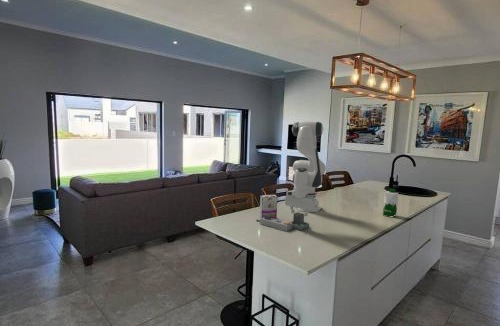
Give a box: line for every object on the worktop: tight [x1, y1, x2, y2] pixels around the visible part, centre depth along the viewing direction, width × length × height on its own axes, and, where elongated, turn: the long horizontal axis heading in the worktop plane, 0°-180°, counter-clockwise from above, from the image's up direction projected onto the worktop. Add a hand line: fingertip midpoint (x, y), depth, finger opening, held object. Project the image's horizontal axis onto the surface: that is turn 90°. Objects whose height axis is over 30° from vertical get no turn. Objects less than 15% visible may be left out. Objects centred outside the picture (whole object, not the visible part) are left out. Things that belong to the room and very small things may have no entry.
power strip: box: [256, 215, 293, 232], centre depth 189 cm, size 26×7×6 cm, turn 52°
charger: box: [292, 211, 305, 226], centre depth 187 cm, size 5×5×8 cm
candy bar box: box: [259, 194, 278, 220], centre depth 203 cm, size 11×5×16 cm, turn 105°
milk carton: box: [382, 188, 399, 217], centre depth 221 cm, size 9×9×20 cm
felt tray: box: [289, 220, 310, 232], centre depth 188 cm, size 10×10×2 cm
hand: (299, 214), depth 188 cm, fingers open, 8 cm apart
